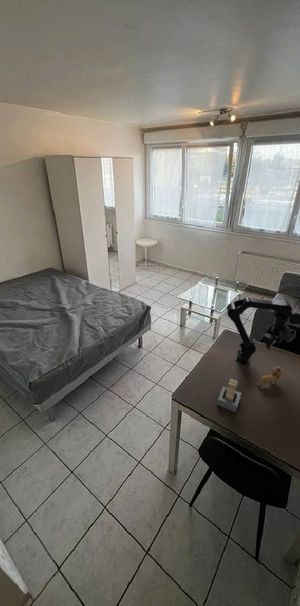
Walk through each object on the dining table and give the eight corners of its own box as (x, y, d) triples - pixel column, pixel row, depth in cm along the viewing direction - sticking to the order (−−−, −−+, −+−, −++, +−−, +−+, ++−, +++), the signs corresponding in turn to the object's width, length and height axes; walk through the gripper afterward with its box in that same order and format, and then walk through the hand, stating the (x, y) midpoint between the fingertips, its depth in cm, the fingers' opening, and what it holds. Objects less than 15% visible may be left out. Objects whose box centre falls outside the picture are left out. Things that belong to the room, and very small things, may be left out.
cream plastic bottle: (226, 397, 128) (230, 378, 121) (233, 399, 126) (237, 381, 120) (224, 402, 125) (228, 383, 119) (231, 405, 124) (236, 386, 117)
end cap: (221, 391, 131) (223, 386, 129) (239, 398, 128) (241, 393, 126) (216, 404, 125) (218, 399, 123) (235, 412, 121) (237, 406, 119)
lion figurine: (272, 375, 141) (276, 363, 137) (281, 381, 137) (285, 369, 133) (254, 386, 134) (258, 373, 130) (263, 393, 131) (267, 380, 126)
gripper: (284, 337, 124) (277, 361, 132) (304, 324, 134) (296, 347, 141) (264, 326, 132) (258, 349, 140) (284, 314, 141) (277, 337, 149)
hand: (273, 346), depth 142 cm, fingers open, 9 cm apart
